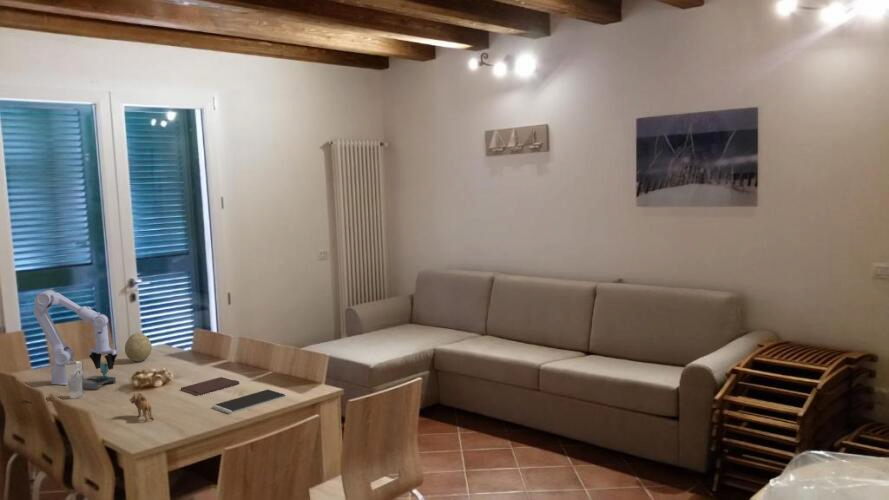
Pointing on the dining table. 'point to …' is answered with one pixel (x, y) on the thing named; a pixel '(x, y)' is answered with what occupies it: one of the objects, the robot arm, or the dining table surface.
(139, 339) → the fossilized egg
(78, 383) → the beer glass
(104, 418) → the dining table surface
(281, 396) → the smartphone
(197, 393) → the notebook
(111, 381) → the keyhole plate
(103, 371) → the peg
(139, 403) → the lion figurine
